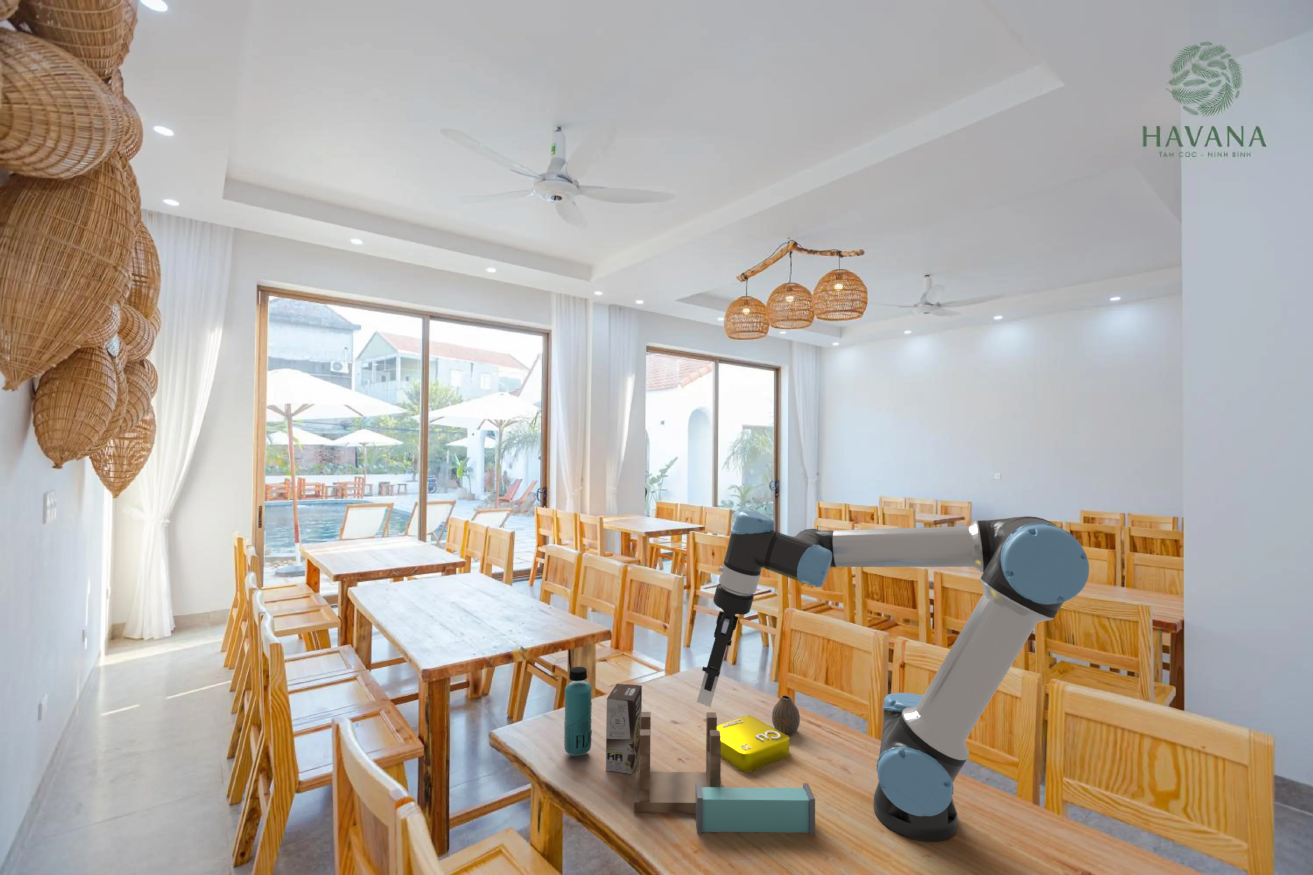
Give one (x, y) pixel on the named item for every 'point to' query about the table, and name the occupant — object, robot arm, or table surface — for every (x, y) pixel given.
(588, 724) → the beverage bottle
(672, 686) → the table surface
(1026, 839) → the table surface
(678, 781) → the rack
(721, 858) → the table surface
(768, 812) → the teal bar
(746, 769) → the element tile
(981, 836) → the table surface
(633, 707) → the coffee box
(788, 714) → the vase
